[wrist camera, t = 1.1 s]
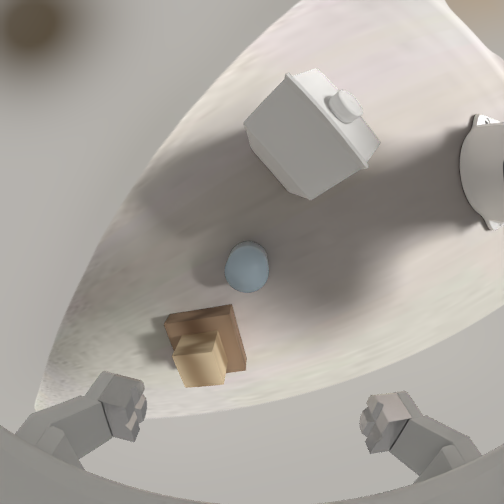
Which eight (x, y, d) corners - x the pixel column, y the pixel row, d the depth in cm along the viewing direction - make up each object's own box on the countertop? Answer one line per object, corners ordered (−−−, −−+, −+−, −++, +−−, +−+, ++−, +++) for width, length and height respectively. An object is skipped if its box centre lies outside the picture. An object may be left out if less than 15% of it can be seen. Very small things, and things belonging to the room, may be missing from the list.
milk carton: (288, 192, 34) (322, 206, 15) (250, 148, 32) (238, 108, 14) (332, 157, 32) (407, 134, 14) (294, 113, 31) (330, 44, 13)
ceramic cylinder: (263, 237, 35) (263, 246, 30) (271, 273, 36) (272, 288, 31) (225, 245, 36) (220, 255, 31) (234, 281, 37) (230, 296, 32)
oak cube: (218, 330, 35) (212, 351, 30) (227, 361, 36) (223, 384, 31) (182, 335, 35) (171, 356, 31) (193, 365, 37) (185, 387, 32)
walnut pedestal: (231, 304, 37) (229, 314, 34) (246, 358, 39) (245, 370, 37) (170, 314, 38) (163, 324, 35) (189, 365, 40) (184, 376, 37)
